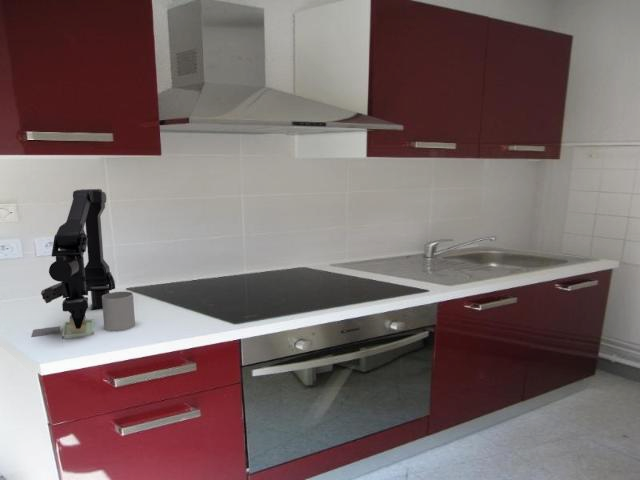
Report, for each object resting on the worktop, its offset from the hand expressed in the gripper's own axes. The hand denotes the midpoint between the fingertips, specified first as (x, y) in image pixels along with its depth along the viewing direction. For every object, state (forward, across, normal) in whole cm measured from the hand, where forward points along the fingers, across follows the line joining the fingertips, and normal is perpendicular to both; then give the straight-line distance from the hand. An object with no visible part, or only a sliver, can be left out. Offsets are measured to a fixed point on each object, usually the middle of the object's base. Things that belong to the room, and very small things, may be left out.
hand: (78, 326), depth 144 cm
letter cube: (+1, 0, 0) cm, 1 cm away
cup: (+2, +2, +11) cm, 11 cm away
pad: (+1, -2, -8) cm, 9 cm away
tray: (+1, 0, 0) cm, 1 cm away
